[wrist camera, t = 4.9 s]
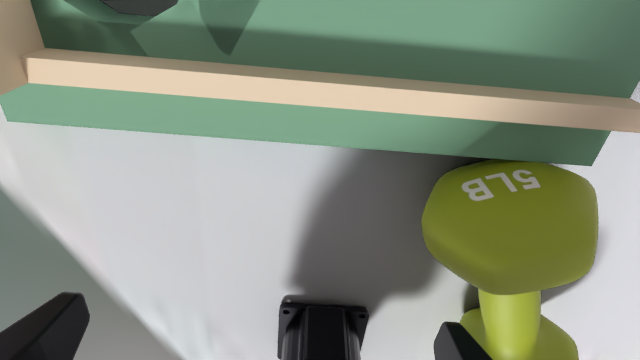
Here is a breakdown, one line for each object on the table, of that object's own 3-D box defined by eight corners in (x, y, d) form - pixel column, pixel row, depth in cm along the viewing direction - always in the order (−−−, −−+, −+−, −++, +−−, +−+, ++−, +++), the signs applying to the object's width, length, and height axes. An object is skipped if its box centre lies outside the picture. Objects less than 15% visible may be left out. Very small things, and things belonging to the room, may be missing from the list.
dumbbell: (402, 167, 20) (437, 261, 14) (553, 129, 19) (663, 214, 13) (439, 338, 29) (470, 442, 23) (545, 319, 27) (608, 424, 21)
